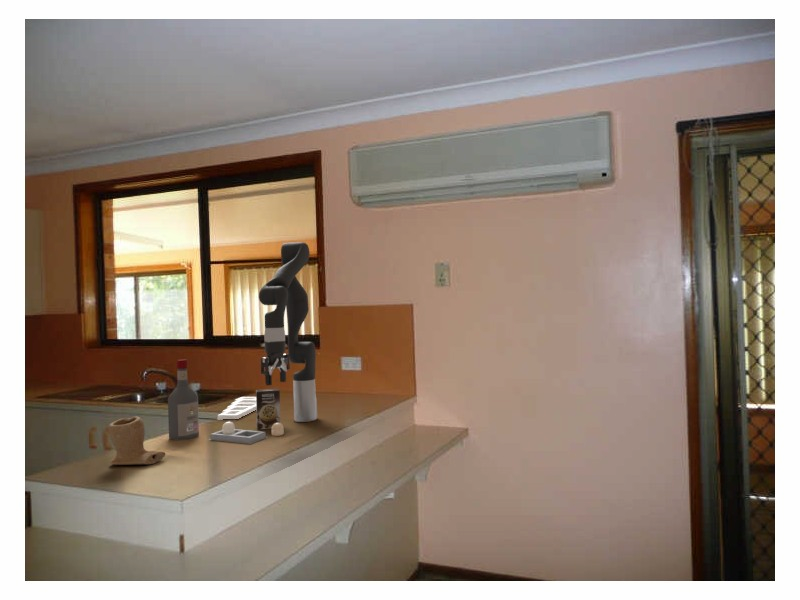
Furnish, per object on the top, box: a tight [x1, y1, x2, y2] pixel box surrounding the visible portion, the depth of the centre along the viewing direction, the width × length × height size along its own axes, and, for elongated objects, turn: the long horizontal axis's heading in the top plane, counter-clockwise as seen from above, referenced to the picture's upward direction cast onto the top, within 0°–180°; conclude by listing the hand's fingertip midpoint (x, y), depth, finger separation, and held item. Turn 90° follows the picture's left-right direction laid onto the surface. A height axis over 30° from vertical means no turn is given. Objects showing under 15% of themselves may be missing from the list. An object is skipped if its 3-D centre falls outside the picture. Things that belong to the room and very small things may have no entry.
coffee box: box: [255, 388, 281, 431], centre depth 224 cm, size 9×6×16 cm
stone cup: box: [107, 415, 166, 466], centre depth 182 cm, size 15×12×15 cm
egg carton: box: [208, 428, 268, 445], centre depth 206 cm, size 10×19×4 cm, turn 66°
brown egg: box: [270, 422, 285, 437], centre depth 211 cm, size 4×4×6 cm
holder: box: [217, 396, 256, 421], centre depth 269 cm, size 45×18×3 cm, turn 171°
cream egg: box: [221, 421, 236, 435], centre depth 208 cm, size 4×4×6 cm
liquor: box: [167, 359, 200, 441], centre depth 212 cm, size 9×9×30 cm
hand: (276, 383), depth 211 cm, fingers open, 8 cm apart
